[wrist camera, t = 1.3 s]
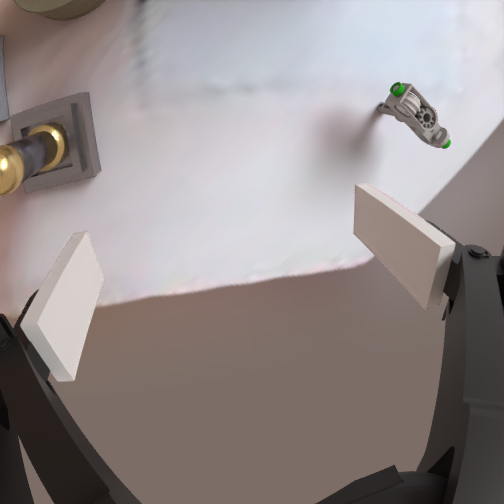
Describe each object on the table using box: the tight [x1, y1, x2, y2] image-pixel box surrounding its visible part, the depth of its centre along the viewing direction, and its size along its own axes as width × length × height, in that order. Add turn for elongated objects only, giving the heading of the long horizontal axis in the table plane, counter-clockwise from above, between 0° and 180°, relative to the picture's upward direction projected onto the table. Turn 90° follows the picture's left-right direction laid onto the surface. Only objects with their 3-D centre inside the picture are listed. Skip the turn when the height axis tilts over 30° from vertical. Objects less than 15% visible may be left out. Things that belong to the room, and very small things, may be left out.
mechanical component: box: [378, 82, 451, 149], centre depth 33 cm, size 3×10×10 cm, turn 57°
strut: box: [0, 123, 69, 196], centre depth 24 cm, size 5×5×13 cm
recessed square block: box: [10, 92, 101, 193], centre depth 30 cm, size 10×10×4 cm
